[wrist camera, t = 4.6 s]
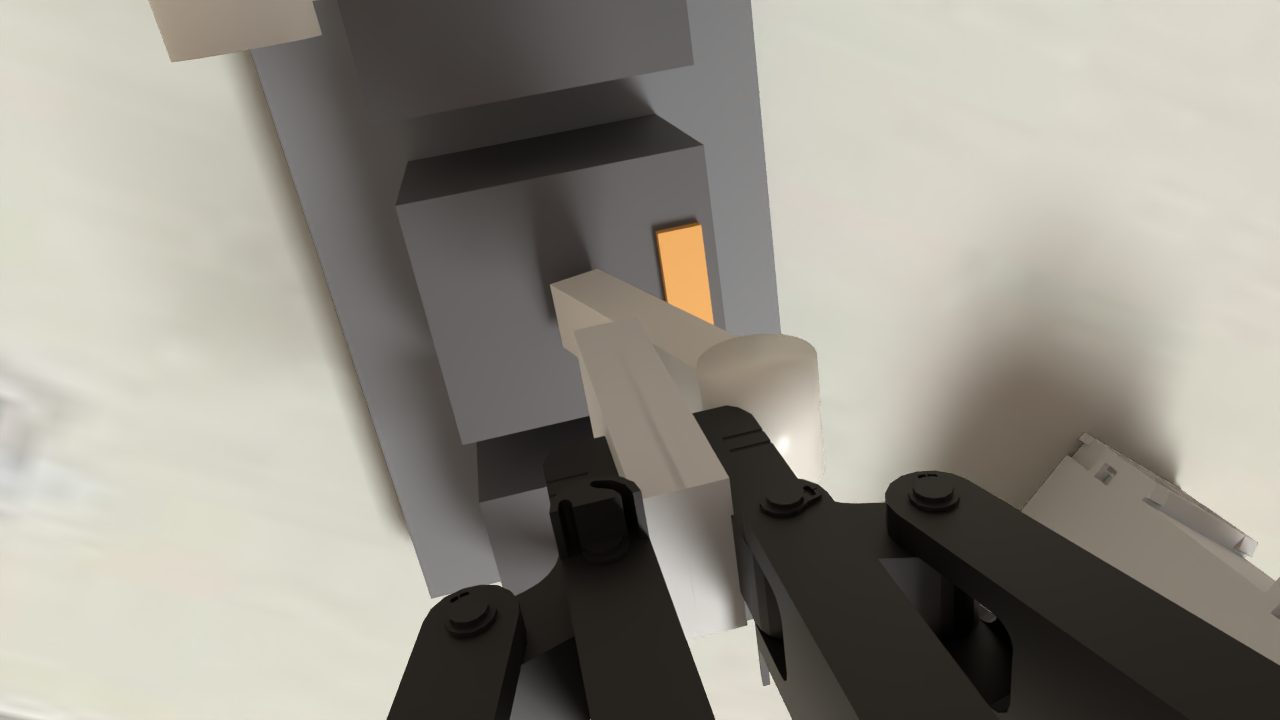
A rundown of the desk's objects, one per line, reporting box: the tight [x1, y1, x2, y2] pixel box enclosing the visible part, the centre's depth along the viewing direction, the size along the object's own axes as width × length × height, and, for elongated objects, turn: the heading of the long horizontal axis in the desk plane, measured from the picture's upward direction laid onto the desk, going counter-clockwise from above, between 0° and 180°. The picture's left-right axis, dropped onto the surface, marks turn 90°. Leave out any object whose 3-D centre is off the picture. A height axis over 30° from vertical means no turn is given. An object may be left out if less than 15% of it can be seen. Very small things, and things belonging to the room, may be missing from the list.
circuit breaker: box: [1021, 432, 1280, 665], centre depth 37 cm, size 8×14×15 cm, turn 148°
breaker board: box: [149, 0, 781, 620], centre depth 24 cm, size 15×26×17 cm, turn 9°
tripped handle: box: [550, 269, 825, 484], centre depth 19 cm, size 2×2×9 cm
